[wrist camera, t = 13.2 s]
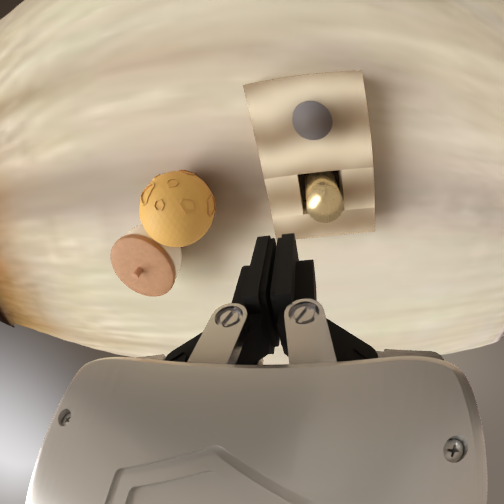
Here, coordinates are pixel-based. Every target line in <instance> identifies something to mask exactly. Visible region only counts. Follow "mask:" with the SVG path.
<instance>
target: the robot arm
mask: <svg viewBox="0 0 504 504" xmlns="http://www.w3.org/2000/svg"><path fill="white" fill-rule="evenodd" d="M279 340H281V345H282V346H283V351H284V353H285V354H286V355H287V356H288V357H289V364H286V365H263V357H265V356H266V355H267V354H274V348H275V347H276V346H279ZM454 447H455V449H454ZM26 504H487V463H486V451H485V442H484V434H483V429H482V424H481V419H480V414H479V410H478V406H477V402H476V399H475V396H474V393H473V390H472V388H471V386H470V383H469V381H468V379H467V378H466V376H465V374H464V373H463V372H462V371H461V370H460V369H459V368H458V367H457V366H455V365H454V364H452V363H449V362H447V361H444V359H443V358H442V356H441V355H439V354H438V353H436V352H432V351H412V350H392V349H385V350H384V352H381V351H375V349H374V348H372V347H371V346H370V345H368V344H367V343H365V342H363V341H362V340H360V339H358V338H357V337H355V336H354V335H352V334H350V333H349V332H347V331H346V330H344V329H343V328H341V327H339V326H338V325H336V324H335V323H333V322H331V321H330V320H328V319H327V318H326V316H325V313H324V309H323V307H322V305H321V304H320V303H319V302H318V301H317V300H316V281H315V270H314V262H313V260H304V261H299V259H298V252H297V246H296V240H295V234H294V233H289V234H282V238H278V239H277V246H276V242H275V239H274V238H272V239H271V238H270V236H262V237H257V240H256V244H255V248H254V252H253V256H252V260H251V264H250V266H243V267H242V269H241V272H240V276H239V279H238V283H237V286H236V290H235V293H234V297H233V300H232V303H229V304H226V305H223V306H221V307H219V308H218V309H217V310H215V311H214V313H213V314H212V316H211V318H210V320H209V322H208V323H207V325H206V327H205V329H204V331H203V332H202V333H200V334H199V335H197V336H196V337H194V338H193V339H191V340H189V341H188V342H186V343H185V344H183V345H181V346H180V347H178V348H177V349H175V350H173V351H172V352H171V353H169V354H168V355H167V357H165V355H164V354H162V355H155V356H146V357H137V358H127V357H109V358H102V359H98V360H94V361H91V362H89V363H87V364H85V365H84V366H83V367H82V368H81V369H80V370H79V371H78V372H77V374H76V375H75V377H74V378H73V380H72V381H71V383H70V385H69V387H68V389H67V390H66V392H65V394H64V396H63V398H62V400H61V402H60V404H59V406H58V408H57V410H56V412H55V415H54V417H53V419H52V421H51V424H50V426H49V428H48V431H47V433H46V436H45V438H44V441H43V444H42V447H41V449H40V452H39V455H38V458H37V461H36V465H35V468H34V471H33V475H32V478H31V482H30V486H29V490H28V495H27V499H26Z"/></svg>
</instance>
